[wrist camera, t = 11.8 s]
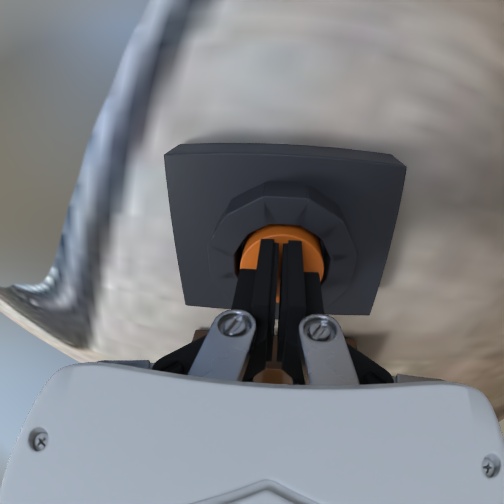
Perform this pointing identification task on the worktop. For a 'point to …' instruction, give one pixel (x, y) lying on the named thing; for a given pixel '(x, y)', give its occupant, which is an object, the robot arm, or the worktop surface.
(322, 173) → the doorbell
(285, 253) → the robot arm
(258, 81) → the worktop surface
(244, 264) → the bell button
